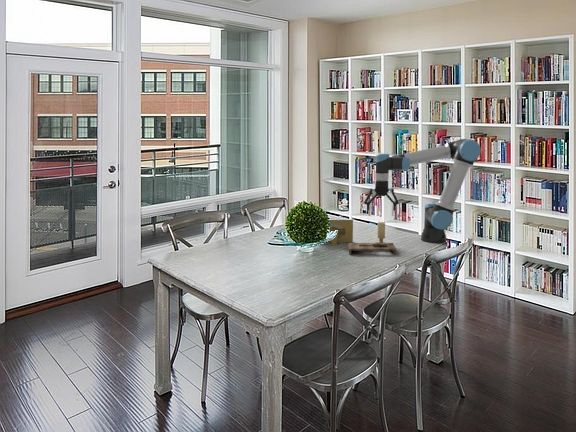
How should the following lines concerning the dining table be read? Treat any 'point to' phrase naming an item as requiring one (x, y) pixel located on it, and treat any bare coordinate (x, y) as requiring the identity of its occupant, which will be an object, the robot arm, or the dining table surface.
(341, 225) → the cardboard box
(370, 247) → the keyhole plate
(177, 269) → the dining table surface
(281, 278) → the dining table surface
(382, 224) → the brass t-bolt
